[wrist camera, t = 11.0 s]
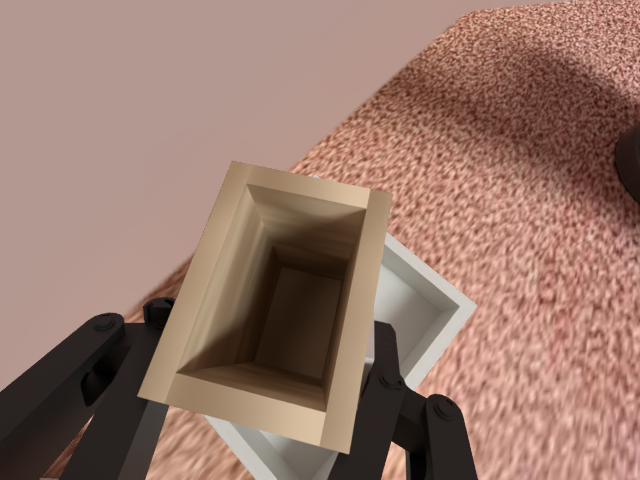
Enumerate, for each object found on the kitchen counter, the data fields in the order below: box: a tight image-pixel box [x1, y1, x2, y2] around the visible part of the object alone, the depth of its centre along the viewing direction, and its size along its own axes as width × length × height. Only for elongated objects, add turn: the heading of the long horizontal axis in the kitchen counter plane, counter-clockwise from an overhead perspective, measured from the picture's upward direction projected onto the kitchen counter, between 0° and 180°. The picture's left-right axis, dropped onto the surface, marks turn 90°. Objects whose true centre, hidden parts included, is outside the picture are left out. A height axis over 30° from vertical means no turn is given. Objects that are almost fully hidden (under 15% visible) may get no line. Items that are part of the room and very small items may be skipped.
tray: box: [204, 174, 477, 480], centre depth 26 cm, size 18×20×5 cm
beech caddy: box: [137, 161, 393, 454], centre depth 15 cm, size 6×8×12 cm
